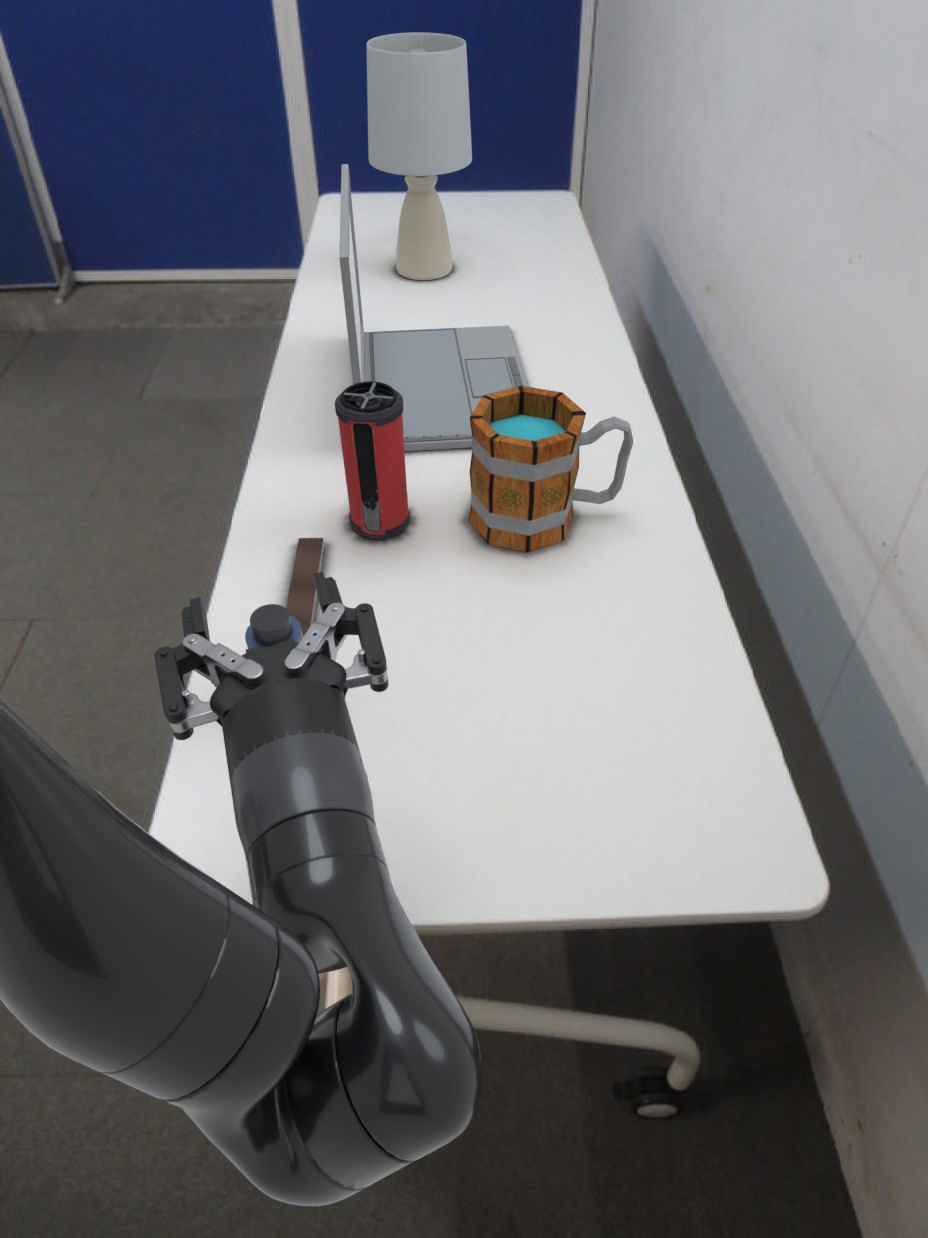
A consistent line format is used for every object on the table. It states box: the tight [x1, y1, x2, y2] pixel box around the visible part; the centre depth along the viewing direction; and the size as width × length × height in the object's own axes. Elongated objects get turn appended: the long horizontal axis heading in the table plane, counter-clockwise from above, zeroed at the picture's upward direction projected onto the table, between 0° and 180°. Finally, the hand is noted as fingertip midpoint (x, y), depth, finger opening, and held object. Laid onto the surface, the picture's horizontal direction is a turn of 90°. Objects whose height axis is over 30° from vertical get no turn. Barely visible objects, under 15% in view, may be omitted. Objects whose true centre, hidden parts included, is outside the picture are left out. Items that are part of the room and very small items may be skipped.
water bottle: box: [244, 603, 303, 649], centre depth 78 cm, size 5×5×12 cm
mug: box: [468, 386, 634, 553], centre depth 98 cm, size 20×14×15 cm
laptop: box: [339, 163, 529, 452], centre depth 116 cm, size 35×26×27 cm
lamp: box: [366, 32, 473, 281], centre depth 145 cm, size 19×19×37 cm
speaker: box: [334, 381, 411, 539], centre depth 96 cm, size 8×8×18 cm
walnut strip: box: [285, 537, 326, 636], centre depth 92 cm, size 18×3×2 cm, turn 2°
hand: (259, 593), depth 57 cm, fingers open, 8 cm apart
